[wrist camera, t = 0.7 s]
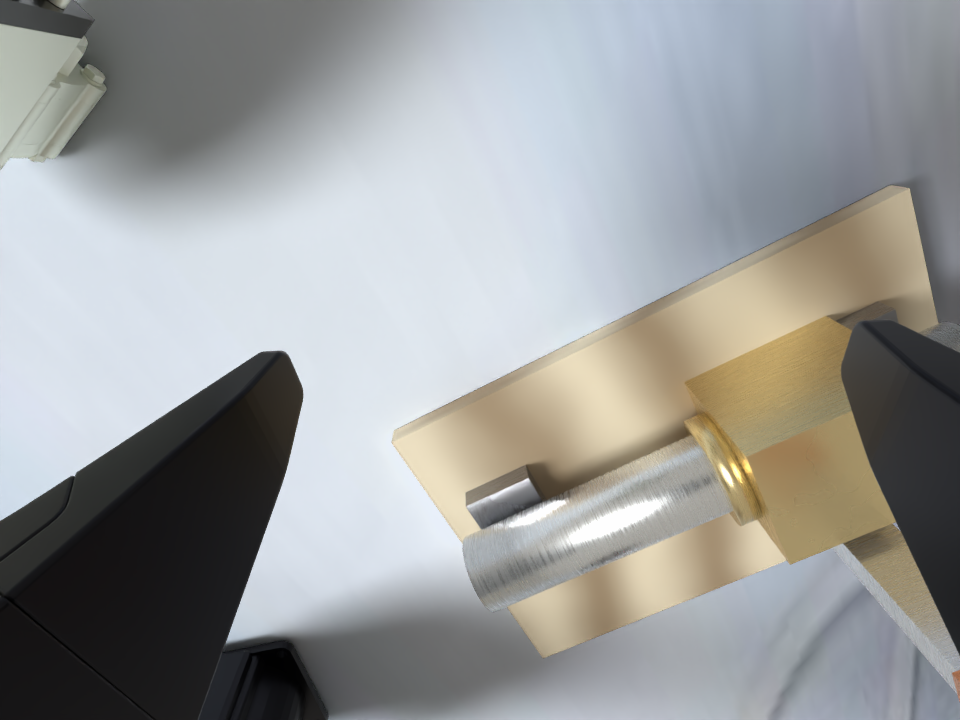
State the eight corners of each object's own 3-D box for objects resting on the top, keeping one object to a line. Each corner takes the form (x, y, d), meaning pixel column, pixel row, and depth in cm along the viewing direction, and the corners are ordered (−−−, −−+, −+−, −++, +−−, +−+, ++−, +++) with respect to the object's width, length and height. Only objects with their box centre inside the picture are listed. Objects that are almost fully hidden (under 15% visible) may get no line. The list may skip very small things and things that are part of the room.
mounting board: (540, 642, 31) (543, 658, 30) (393, 430, 25) (391, 442, 24) (955, 472, 27) (972, 485, 26) (890, 185, 22) (909, 188, 21)
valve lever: (786, 514, 25) (1109, 910, 13) (773, 481, 24) (1103, 866, 12) (849, 488, 25) (1248, 871, 12) (838, 453, 24) (1249, 825, 12)
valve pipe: (504, 569, 27) (515, 674, 22) (451, 490, 25) (449, 586, 20) (925, 385, 24) (1051, 459, 19) (900, 280, 22) (1033, 331, 17)
